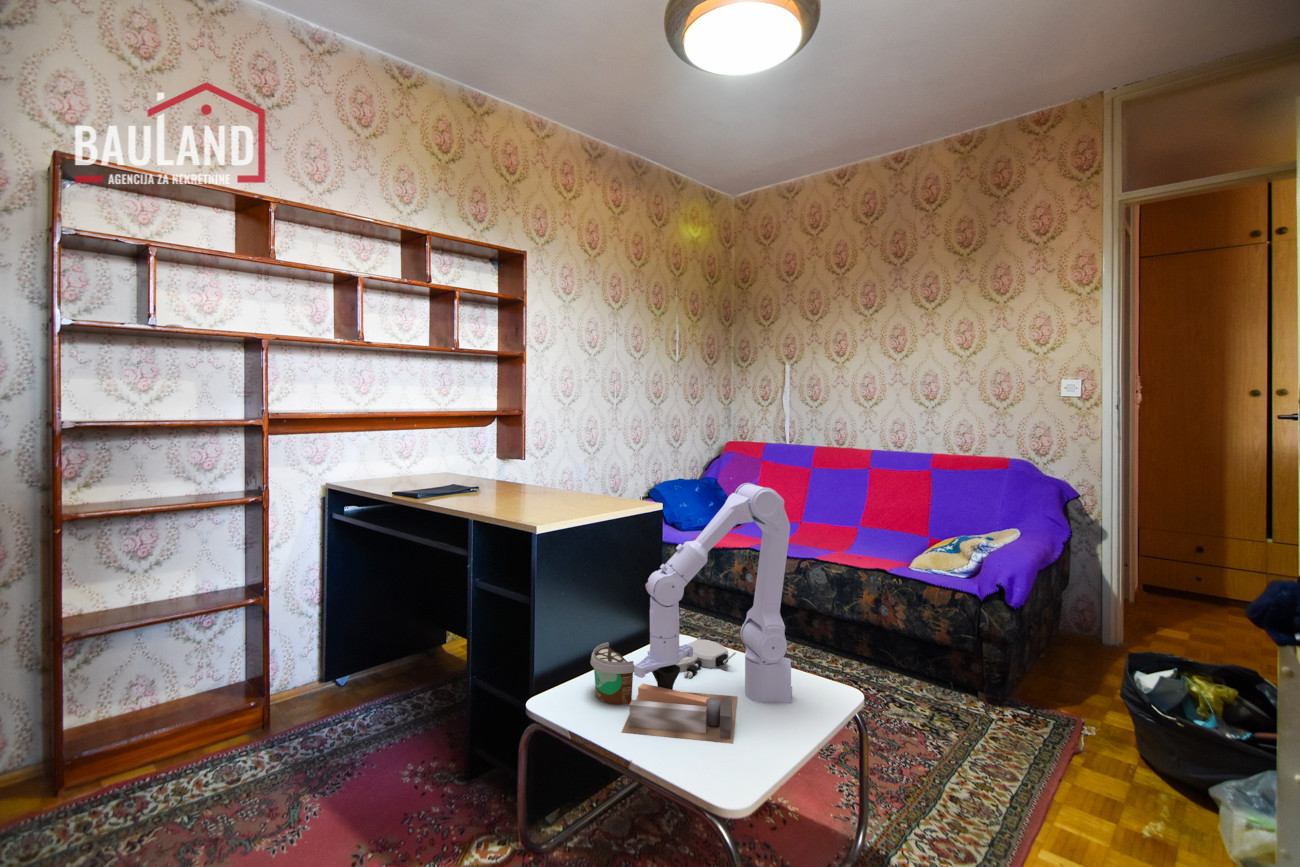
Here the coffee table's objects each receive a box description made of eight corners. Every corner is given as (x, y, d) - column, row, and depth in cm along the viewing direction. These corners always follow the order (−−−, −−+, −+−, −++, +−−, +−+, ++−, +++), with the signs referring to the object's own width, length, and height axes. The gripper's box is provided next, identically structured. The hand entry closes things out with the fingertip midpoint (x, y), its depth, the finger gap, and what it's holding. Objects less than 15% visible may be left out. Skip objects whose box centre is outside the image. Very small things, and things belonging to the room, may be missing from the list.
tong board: (737, 702, 124) (737, 677, 124) (733, 750, 107) (733, 720, 107) (640, 693, 128) (640, 669, 128) (621, 739, 110) (621, 710, 110)
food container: (581, 693, 128) (580, 646, 128) (607, 687, 131) (607, 641, 131) (606, 719, 117) (606, 668, 117) (634, 712, 120) (634, 661, 120)
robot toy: (689, 690, 132) (738, 667, 141) (688, 670, 131) (737, 648, 141) (654, 671, 142) (702, 651, 151) (653, 652, 141) (701, 633, 150)
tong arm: (722, 720, 114) (722, 699, 114) (717, 727, 112) (717, 705, 111) (643, 702, 121) (643, 682, 121) (637, 708, 119) (637, 688, 119)
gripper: (675, 619, 127) (675, 683, 128) (623, 637, 117) (623, 707, 118) (700, 627, 122) (701, 694, 123) (648, 647, 112) (649, 720, 113)
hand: (664, 701), depth 120 cm, fingers closed
